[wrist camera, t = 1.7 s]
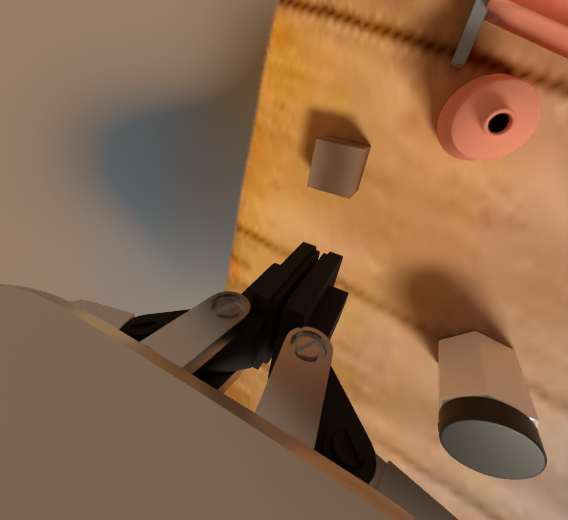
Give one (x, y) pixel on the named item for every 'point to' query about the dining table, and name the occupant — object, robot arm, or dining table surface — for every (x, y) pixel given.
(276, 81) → the dining table surface
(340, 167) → the metal block
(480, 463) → the jar
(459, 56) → the corral
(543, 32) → the pottery
